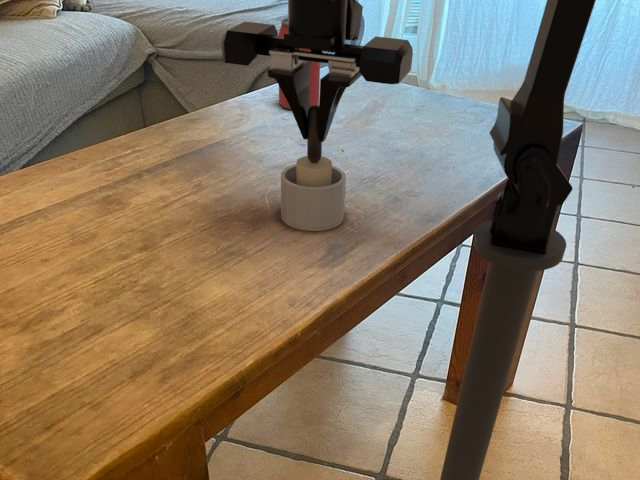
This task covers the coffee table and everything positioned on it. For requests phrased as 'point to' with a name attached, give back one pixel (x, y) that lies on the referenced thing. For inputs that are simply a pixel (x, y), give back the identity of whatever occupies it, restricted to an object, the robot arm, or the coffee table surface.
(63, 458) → the coffee table surface
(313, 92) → the beer can
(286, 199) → the grey round cup
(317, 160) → the brush
